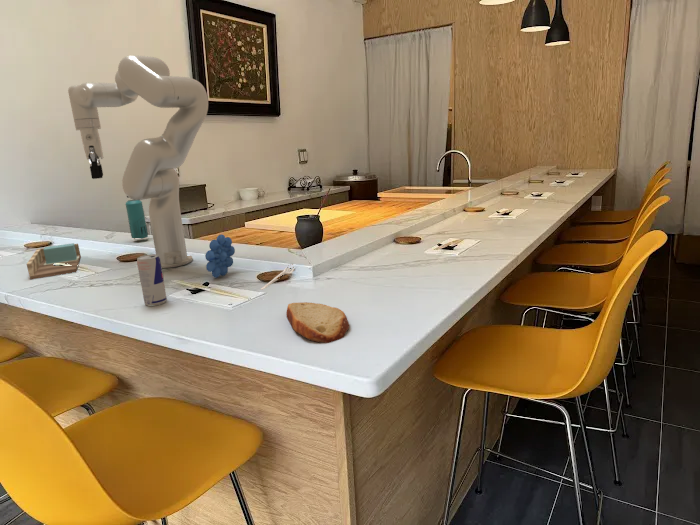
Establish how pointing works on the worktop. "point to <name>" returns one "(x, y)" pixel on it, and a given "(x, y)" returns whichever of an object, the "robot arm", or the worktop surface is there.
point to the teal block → (60, 253)
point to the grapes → (220, 256)
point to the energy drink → (151, 279)
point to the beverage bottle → (136, 219)
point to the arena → (50, 265)
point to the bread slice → (317, 321)
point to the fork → (278, 276)
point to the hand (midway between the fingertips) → (97, 177)
